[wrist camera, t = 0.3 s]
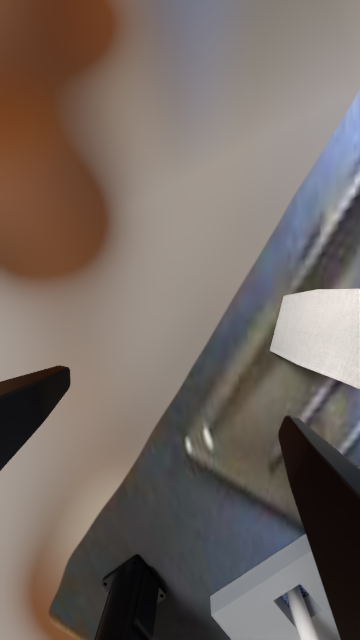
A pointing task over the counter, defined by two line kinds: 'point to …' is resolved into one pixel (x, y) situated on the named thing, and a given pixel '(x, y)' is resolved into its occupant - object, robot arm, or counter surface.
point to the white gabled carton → (321, 332)
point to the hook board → (277, 600)
